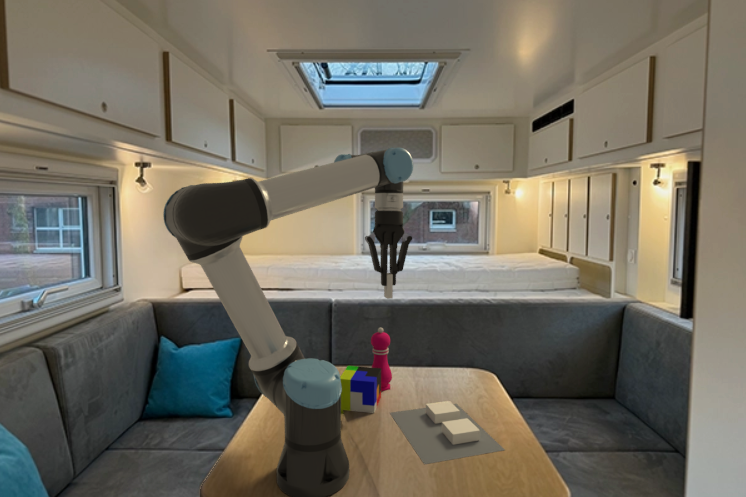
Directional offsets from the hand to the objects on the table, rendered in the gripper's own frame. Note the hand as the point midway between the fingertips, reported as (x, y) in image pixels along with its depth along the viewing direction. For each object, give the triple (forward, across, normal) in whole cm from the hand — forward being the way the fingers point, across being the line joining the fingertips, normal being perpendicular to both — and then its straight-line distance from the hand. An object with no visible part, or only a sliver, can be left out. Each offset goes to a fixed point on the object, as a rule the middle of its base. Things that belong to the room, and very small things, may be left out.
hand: (388, 297), depth 113 cm
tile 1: (+30, +9, -8) cm, 32 cm away
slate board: (+32, +10, -14) cm, 37 cm away
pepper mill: (+33, +2, +14) cm, 36 cm away
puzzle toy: (+33, -6, +5) cm, 34 cm away
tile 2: (+30, +9, -18) cm, 36 cm away
